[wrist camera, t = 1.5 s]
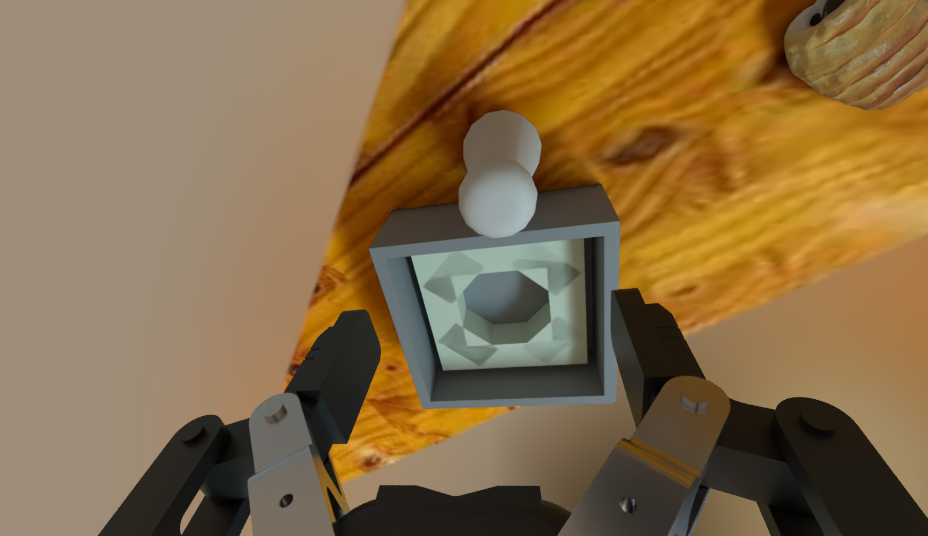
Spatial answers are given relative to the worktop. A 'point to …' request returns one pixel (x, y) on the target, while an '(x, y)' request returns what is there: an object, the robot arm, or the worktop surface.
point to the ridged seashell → (861, 50)
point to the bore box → (505, 302)
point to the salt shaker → (499, 174)
